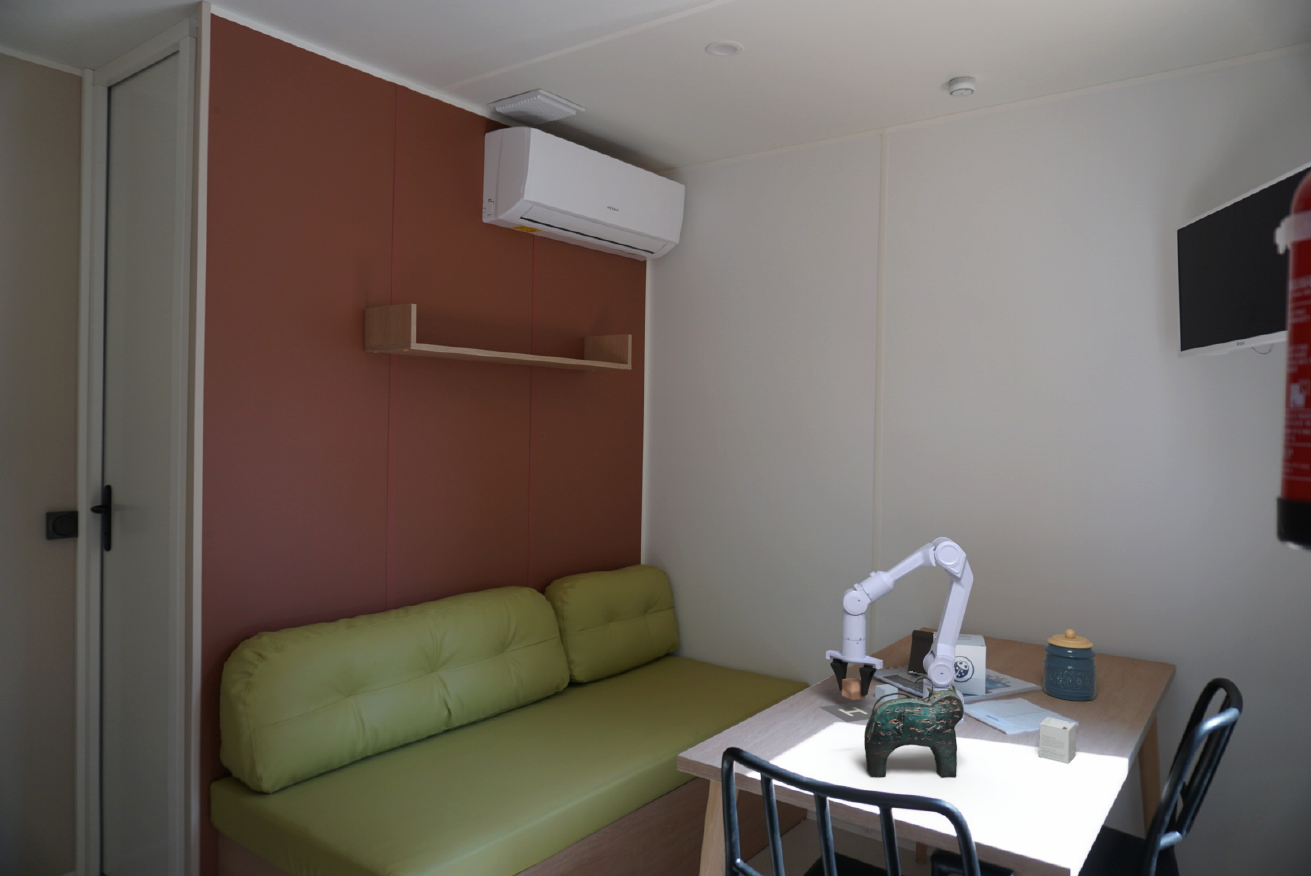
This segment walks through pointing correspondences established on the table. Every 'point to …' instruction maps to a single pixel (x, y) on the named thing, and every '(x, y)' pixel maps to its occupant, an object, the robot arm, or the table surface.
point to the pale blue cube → (885, 692)
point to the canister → (1070, 667)
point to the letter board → (850, 711)
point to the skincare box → (1057, 740)
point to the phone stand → (919, 650)
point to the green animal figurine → (914, 729)
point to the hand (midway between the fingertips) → (853, 692)
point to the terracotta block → (852, 688)
